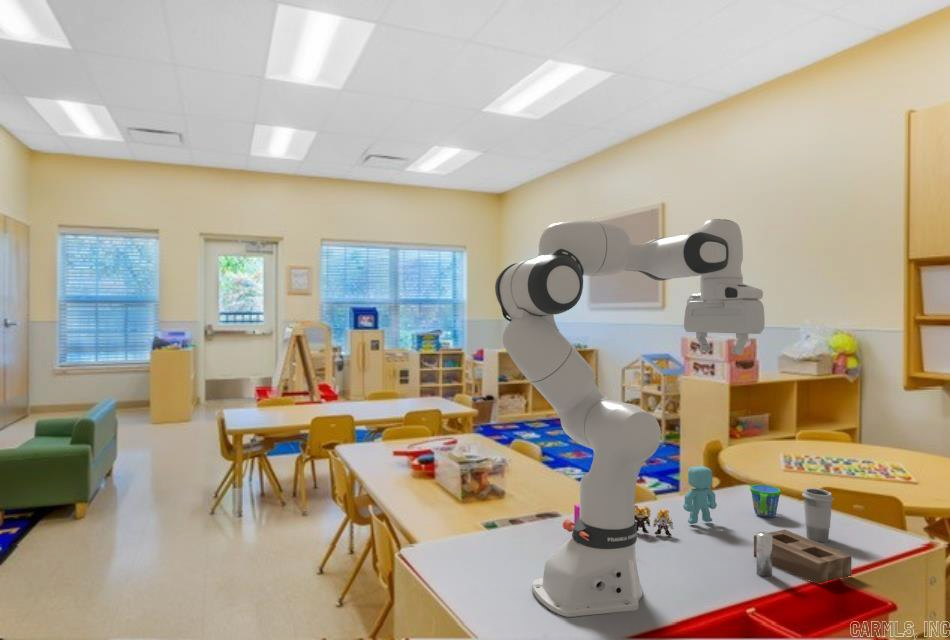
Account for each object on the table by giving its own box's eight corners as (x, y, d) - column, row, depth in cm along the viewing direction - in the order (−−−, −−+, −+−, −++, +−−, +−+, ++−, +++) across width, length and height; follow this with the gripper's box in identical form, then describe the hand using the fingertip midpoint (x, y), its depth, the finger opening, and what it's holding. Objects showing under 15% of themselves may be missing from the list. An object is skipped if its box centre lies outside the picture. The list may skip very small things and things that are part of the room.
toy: (708, 517, 155) (708, 463, 155) (721, 523, 151) (721, 468, 151) (679, 520, 153) (679, 466, 153) (690, 527, 148) (691, 471, 148)
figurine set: (608, 524, 150) (609, 500, 150) (673, 532, 145) (673, 507, 145) (608, 529, 147) (608, 504, 147) (673, 537, 142) (673, 511, 142)
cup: (839, 544, 137) (839, 496, 137) (812, 544, 137) (812, 495, 137) (822, 533, 144) (822, 487, 144) (796, 533, 144) (796, 487, 144)
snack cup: (776, 523, 151) (776, 495, 151) (745, 516, 156) (745, 490, 156) (784, 512, 160) (784, 486, 160) (755, 506, 165) (755, 481, 165)
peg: (765, 580, 118) (765, 537, 118) (753, 574, 121) (753, 532, 121) (775, 577, 119) (775, 535, 119) (763, 571, 122) (763, 530, 122)
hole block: (818, 587, 115) (818, 563, 115) (753, 556, 129) (753, 535, 129) (851, 579, 118) (851, 556, 118) (784, 550, 133) (784, 529, 133)
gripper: (677, 293, 134) (677, 351, 134) (747, 289, 115) (747, 356, 115) (697, 294, 136) (697, 350, 136) (769, 290, 117) (769, 355, 117)
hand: (720, 353), depth 126 cm, fingers open, 8 cm apart
